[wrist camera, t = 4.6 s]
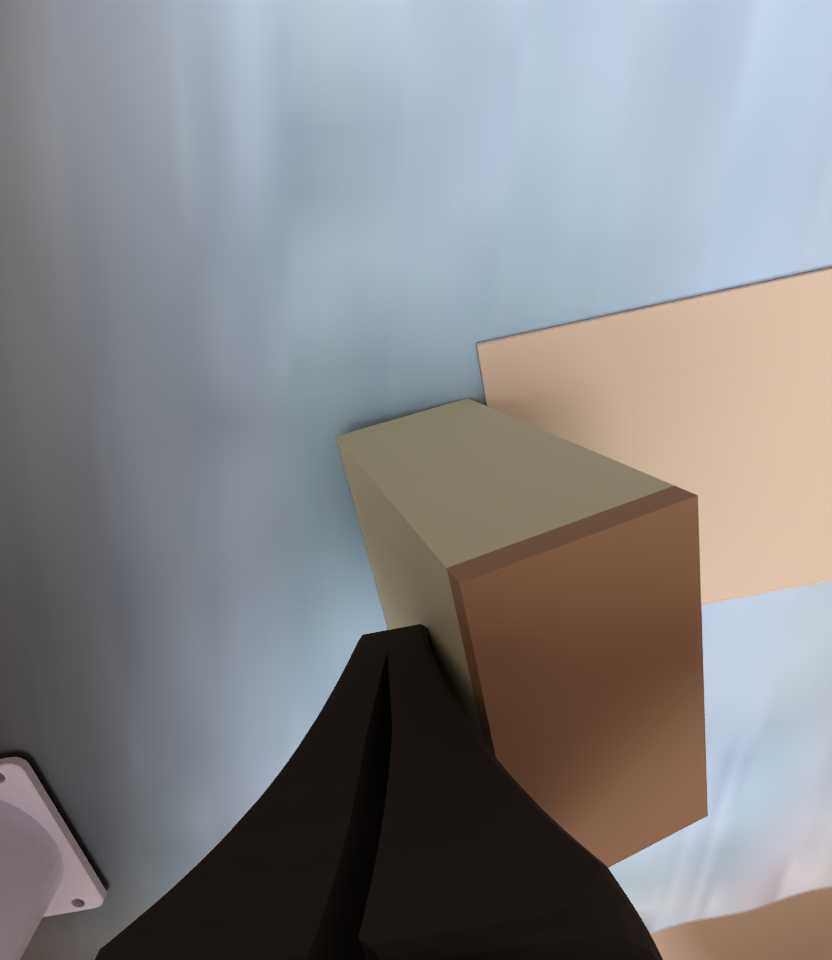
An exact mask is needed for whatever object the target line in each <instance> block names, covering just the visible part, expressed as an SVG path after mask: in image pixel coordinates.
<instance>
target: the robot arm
mask: <svg viewBox="0 0 832 960" xmlns="http://www.w3.org/2000/svg"><path fill="white" fill-rule="evenodd" d="M106 894H107V893H106V890H105V888H104V886H103V885H102V883H101V881H100V880H99V878H98V876H97V875H96V873H95V872H94V870H93V868H92V867H91V865H90V863H89V862H88V860H87V858H86V857H85V855H84V853H83V852H82V850H81V848H80V847H79V845H78V843H77V842H76V840H75V838H74V837H73V835H72V834H71V832H70V830H69V829H68V827H67V825H66V824H65V822H64V820H63V819H62V817H61V815H60V814H59V812H58V810H57V809H56V807H55V805H54V804H53V802H52V800H51V799H50V797H49V796H48V794H47V792H46V791H45V789H44V787H43V786H42V784H41V782H40V781H39V779H38V777H37V776H36V774H35V772H34V771H33V769H32V767H31V766H30V764H29V763H28V762H27V761H26V760H25V759H23V758H20V757H8V758H3V759H0V960H20V959H21V957H22V955H23V953H24V951H25V949H26V948H27V946H28V944H29V942H30V940H31V938H32V936H33V934H34V933H35V931H36V929H37V927H38V925H39V923H40V921H41V919H42V918H43V917H47V916H52V915H58V914H64V913H70V912H76V911H82V910H87V909H93V908H97V907H99V906H101V905H102V904H103V902H104V899H105V897H106ZM95 960H663V959H662V957H661V955H660V953H659V951H658V949H657V947H656V944H655V943H654V941H653V939H652V937H651V935H650V933H649V931H648V930H647V928H646V926H645V924H644V923H643V921H642V919H641V918H640V916H639V914H638V913H637V911H636V910H635V908H634V906H633V905H632V903H631V902H630V900H629V899H628V897H627V895H626V894H625V893H624V891H623V890H622V888H621V887H620V885H619V884H618V882H617V881H616V879H615V878H614V876H613V875H612V873H611V872H610V870H609V869H608V867H607V866H606V865H605V864H604V863H603V862H602V861H600V860H599V859H598V858H597V857H595V856H594V855H593V854H592V853H591V852H589V851H588V850H587V849H586V848H585V847H583V846H582V845H581V844H580V843H579V842H578V841H577V840H575V839H574V838H573V837H572V836H571V835H570V834H569V833H567V832H566V831H565V830H564V829H563V828H562V827H561V826H560V825H559V824H558V823H557V822H556V821H555V820H553V819H552V818H551V817H550V816H549V815H548V814H547V813H546V812H545V811H544V810H543V809H542V808H541V807H540V806H539V805H538V804H537V803H536V802H535V801H534V800H533V799H532V798H531V796H530V795H529V794H528V793H527V792H526V791H525V790H524V789H523V788H522V787H521V786H520V785H519V784H518V783H517V782H516V781H515V779H514V778H513V777H512V776H511V775H510V774H509V773H508V772H507V771H506V769H505V768H504V767H503V766H502V765H501V763H500V762H499V761H498V760H497V758H496V757H495V756H494V755H493V754H492V752H491V751H490V750H489V748H488V747H487V746H486V744H485V743H484V742H483V741H482V739H481V738H480V736H479V735H478V734H477V732H476V731H475V729H474V728H473V727H472V725H471V724H470V722H469V721H468V719H467V718H466V716H465V714H464V713H463V711H462V710H461V708H460V707H459V705H458V703H457V702H456V700H455V698H454V697H453V695H452V693H451V691H450V689H449V687H448V686H447V684H446V682H445V680H444V678H443V676H442V674H441V672H440V670H439V668H438V666H437V663H436V661H435V658H434V654H433V650H432V646H431V642H430V638H429V633H428V629H427V627H425V626H423V625H422V624H417V625H412V626H407V627H402V628H396V629H391V630H386V631H381V632H376V633H370V634H365V635H362V637H361V638H360V640H359V641H358V643H357V645H356V647H355V649H354V651H353V653H352V655H351V657H350V659H349V661H348V663H347V665H346V667H345V669H344V671H343V673H342V675H341V677H340V679H339V681H338V682H337V684H336V686H335V688H334V690H333V691H332V693H331V695H330V697H329V698H328V700H327V702H326V704H325V705H324V707H323V709H322V711H321V712H320V714H319V716H318V717H317V719H316V720H315V722H314V723H313V725H312V726H311V728H310V730H309V731H308V733H307V734H306V736H305V737H304V739H303V740H302V742H301V744H300V745H299V747H298V748H297V750H296V751H295V752H294V754H293V755H292V757H291V758H290V759H289V761H288V762H287V764H286V765H285V766H284V768H283V769H282V770H281V772H280V773H279V774H278V776H277V777H276V778H275V780H274V781H273V782H272V783H271V785H270V786H269V787H268V789H267V790H266V791H265V792H264V794H263V795H262V796H261V797H260V798H259V800H258V801H257V802H256V803H255V804H254V805H253V806H252V807H251V809H250V810H249V811H248V812H247V813H246V814H245V815H244V816H243V817H242V819H241V820H240V821H239V822H238V823H237V824H236V825H235V826H234V828H233V829H232V830H231V831H230V832H229V833H228V834H227V835H226V836H225V837H224V838H223V840H222V841H221V842H220V843H219V844H218V845H217V846H216V847H215V848H214V849H213V850H212V851H211V852H210V853H209V854H208V855H207V856H206V857H205V858H204V859H203V860H202V861H201V862H200V863H199V864H198V865H197V866H195V867H194V868H193V869H192V870H191V871H190V872H189V873H188V874H187V875H186V876H185V877H184V878H183V879H182V880H181V881H180V882H179V883H178V884H176V885H175V886H174V887H173V888H172V889H171V890H170V891H169V892H168V893H166V894H165V895H164V896H163V897H162V898H161V899H160V900H159V901H157V902H156V903H155V904H154V905H153V906H151V907H150V908H149V909H148V910H147V911H146V912H144V913H143V914H142V915H141V916H140V917H138V918H137V919H136V920H135V921H134V922H133V923H131V924H130V925H129V926H128V927H127V928H125V929H124V930H123V931H122V932H121V933H120V934H118V935H117V936H116V937H115V938H114V939H112V940H111V941H110V942H109V943H107V944H106V945H105V946H104V947H102V948H101V949H100V950H99V952H98V954H97V956H96V959H95Z"/></svg>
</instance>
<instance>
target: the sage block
mask: <svg viewBox="0 0 832 960" xmlns="http://www.w3.org/2000/svg"><path fill="white" fill-rule="evenodd" d="M336 439H337V442H338V446H339V450H340V454H341V457H342V461H343V465H344V468H345V472H346V476H347V479H348V483H349V487H350V491H351V494H352V498H353V502H354V505H355V509H356V513H357V517H358V520H359V524H360V528H361V531H362V535H363V539H364V543H365V546H366V550H367V554H368V557H369V561H370V565H371V568H372V572H373V576H374V580H375V583H376V587H377V591H378V594H379V598H380V602H381V606H382V609H383V613H384V617H385V620H386V624H387V628H388V630H391V629H396V628H402V627H407V626H412V625H417V624H422V625H423V626H425V627H427V629H428V633H429V638H430V642H431V646H432V650H433V654H434V658H435V661H436V663H437V666H438V668H439V670H440V672H441V674H442V676H443V678H444V680H445V682H446V684H447V686H448V687H449V689H450V691H451V693H452V695H453V697H454V698H455V700H456V702H457V703H458V705H459V707H460V708H461V710H462V711H463V713H464V714H465V716H466V718H467V719H468V721H469V722H470V724H471V725H472V727H473V728H474V729H475V731H476V732H477V734H478V735H479V736H480V738H481V739H482V741H483V742H484V743H485V744H486V746H487V747H488V748H489V750H490V751H491V752H492V754H493V755H494V756H495V757H496V758H497V760H498V761H499V762H500V763H501V765H502V766H503V767H504V768H505V769H506V771H507V772H508V773H509V774H510V775H511V776H512V777H513V778H514V779H515V781H516V782H517V783H518V784H519V785H520V786H521V787H522V788H523V789H524V790H525V791H526V792H527V793H528V794H529V795H530V796H531V798H532V799H533V800H534V801H535V802H536V803H537V804H538V805H539V806H540V807H541V808H542V809H543V810H544V811H545V812H546V813H547V814H548V815H549V816H550V817H551V818H552V819H553V820H555V821H556V822H557V823H558V824H559V825H560V826H561V827H562V828H563V829H564V830H565V831H566V832H567V833H569V834H570V835H571V836H572V837H573V838H574V839H575V840H577V841H578V842H579V843H580V844H581V845H582V846H583V847H585V848H586V849H587V850H588V851H589V852H591V853H592V854H593V855H594V856H595V857H597V858H598V859H599V860H600V861H602V862H603V863H604V864H605V865H606V866H607V867H610V866H612V865H614V864H616V863H618V862H620V861H622V860H624V859H626V858H628V857H629V856H631V855H633V854H635V853H637V852H639V851H641V850H643V849H645V848H647V847H649V846H651V845H652V844H654V843H656V842H658V841H660V840H662V839H664V838H666V837H668V836H670V835H672V834H673V833H675V832H677V831H679V830H681V829H683V828H685V827H687V826H689V825H691V824H693V823H694V822H696V821H698V820H700V819H702V818H704V817H706V816H708V813H707V780H706V747H705V714H704V681H703V648H702V615H701V581H700V548H699V515H698V495H696V494H693V493H691V492H689V491H686V490H684V489H682V488H679V487H677V486H675V485H672V484H670V483H667V482H665V481H663V480H660V479H658V478H656V477H653V476H651V475H648V474H646V473H644V472H641V471H639V470H637V469H634V468H632V467H630V466H627V465H625V464H622V463H620V462H618V461H615V460H613V459H611V458H608V457H606V456H603V455H601V454H599V453H596V452H594V451H592V450H589V449H587V448H585V447H582V446H580V445H577V444H575V443H573V442H570V441H568V440H566V439H563V438H561V437H558V436H556V435H554V434H551V433H549V432H547V431H544V430H542V429H540V428H537V427H535V426H532V425H530V424H528V423H525V422H523V421H521V420H518V419H516V418H513V417H511V416H509V415H506V414H504V413H502V412H499V411H497V410H495V409H492V408H490V407H487V406H485V405H483V404H480V403H478V402H476V401H473V400H471V399H468V398H465V399H462V400H459V401H455V402H452V403H448V404H445V405H441V406H438V407H435V408H431V409H428V410H424V411H421V412H417V413H414V414H411V415H407V416H404V417H400V418H397V419H394V420H390V421H387V422H383V423H380V424H376V425H373V426H370V427H366V428H363V429H359V430H356V431H352V432H349V433H346V434H342V435H339V436H336Z"/></svg>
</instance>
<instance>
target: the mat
mask: <svg viewBox="0 0 832 960" xmlns="http://www.w3.org/2000/svg"><path fill="white" fill-rule="evenodd" d="M476 346H477V352H478V358H479V364H480V370H481V376H482V382H483V388H484V394H485V400H486V406H487V407H490V408H492V409H495V410H497V411H499V412H502V413H504V414H506V415H509V416H511V417H513V418H516V419H518V420H521V421H523V422H525V423H528V424H530V425H532V426H535V427H537V428H540V429H542V430H544V431H547V432H549V433H551V434H554V435H556V436H558V437H561V438H563V439H566V440H568V441H570V442H573V443H575V444H577V445H580V446H582V447H585V448H587V449H589V450H592V451H594V452H596V453H599V454H601V455H603V456H606V457H608V458H611V459H613V460H615V461H618V462H620V463H622V464H625V465H627V466H630V467H632V468H634V469H637V470H639V471H641V472H644V473H646V474H648V475H651V476H653V477H656V478H658V479H660V480H663V481H665V482H667V483H670V484H672V485H675V486H677V487H679V488H682V489H684V490H686V491H689V492H691V493H693V494H696V495H698V515H699V548H700V581H701V605H704V604H709V603H715V602H720V601H725V600H731V599H736V598H741V597H747V596H752V595H757V594H763V593H768V592H773V591H779V590H784V589H789V588H795V587H800V586H805V585H811V584H816V583H821V582H827V581H832V268H827V269H822V270H817V271H813V272H808V273H803V274H799V275H794V276H789V277H785V278H780V279H775V280H771V281H766V282H761V283H757V284H752V285H747V286H743V287H738V288H733V289H729V290H724V291H719V292H715V293H710V294H705V295H700V296H696V297H691V298H686V299H682V300H677V301H672V302H668V303H663V304H658V305H654V306H649V307H644V308H640V309H635V310H630V311H626V312H621V313H616V314H612V315H607V316H602V317H597V318H593V319H588V320H583V321H579V322H574V323H569V324H565V325H560V326H555V327H551V328H546V329H541V330H537V331H532V332H527V333H523V334H518V335H513V336H509V337H504V338H499V339H495V340H490V341H485V342H480V343H476Z"/></svg>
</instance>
